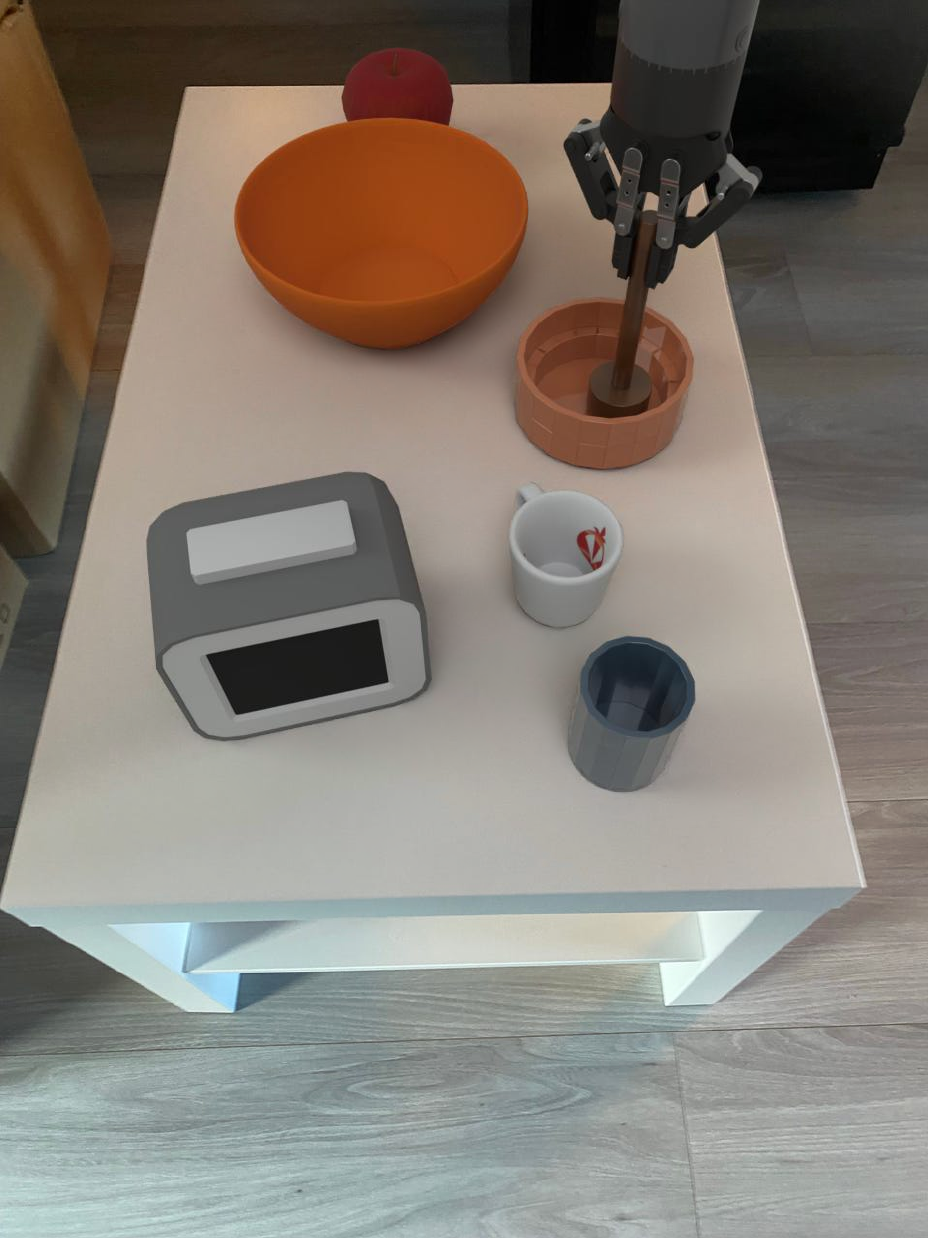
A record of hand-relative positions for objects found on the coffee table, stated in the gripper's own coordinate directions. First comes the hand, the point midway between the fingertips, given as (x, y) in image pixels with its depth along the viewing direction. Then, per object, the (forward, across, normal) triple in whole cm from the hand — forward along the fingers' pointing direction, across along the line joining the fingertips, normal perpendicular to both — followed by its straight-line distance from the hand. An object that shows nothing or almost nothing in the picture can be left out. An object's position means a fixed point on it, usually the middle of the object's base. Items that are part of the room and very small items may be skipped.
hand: (639, 275), depth 69 cm
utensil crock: (+15, -12, +28) cm, 34 cm away
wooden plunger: (+13, 0, 0) cm, 13 cm away
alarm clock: (+15, +11, +32) cm, 37 cm away
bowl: (+15, +25, -4) cm, 29 cm away
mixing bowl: (+15, +2, 0) cm, 15 cm away
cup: (+15, -2, +18) cm, 23 cm away
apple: (+15, +34, -22) cm, 43 cm away
